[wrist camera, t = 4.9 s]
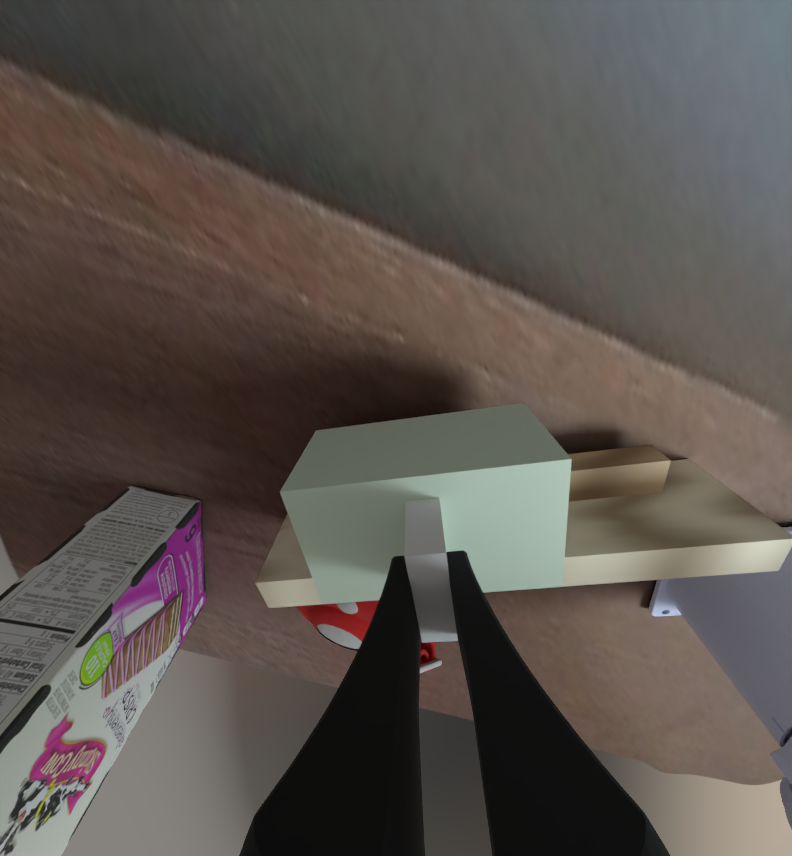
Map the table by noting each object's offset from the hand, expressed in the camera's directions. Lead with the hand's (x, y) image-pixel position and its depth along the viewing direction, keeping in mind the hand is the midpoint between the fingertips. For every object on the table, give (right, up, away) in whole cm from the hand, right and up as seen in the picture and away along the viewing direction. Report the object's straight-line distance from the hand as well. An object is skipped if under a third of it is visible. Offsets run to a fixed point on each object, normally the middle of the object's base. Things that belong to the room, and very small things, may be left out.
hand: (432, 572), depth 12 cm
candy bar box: (-17, -4, +13) cm, 22 cm away
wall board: (+4, +1, +9) cm, 10 cm away
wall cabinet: (0, +3, +5) cm, 6 cm away
